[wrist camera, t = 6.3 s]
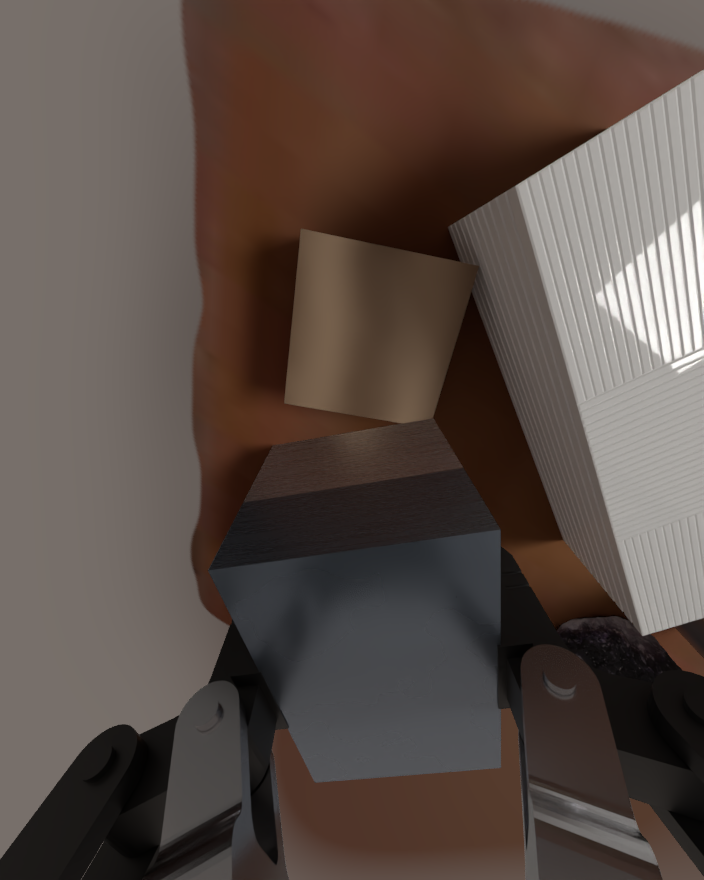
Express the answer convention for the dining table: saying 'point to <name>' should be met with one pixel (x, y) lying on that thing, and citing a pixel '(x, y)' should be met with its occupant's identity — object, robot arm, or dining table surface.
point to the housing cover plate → (374, 622)
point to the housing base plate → (354, 459)
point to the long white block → (610, 346)
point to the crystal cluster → (616, 647)
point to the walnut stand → (373, 327)
